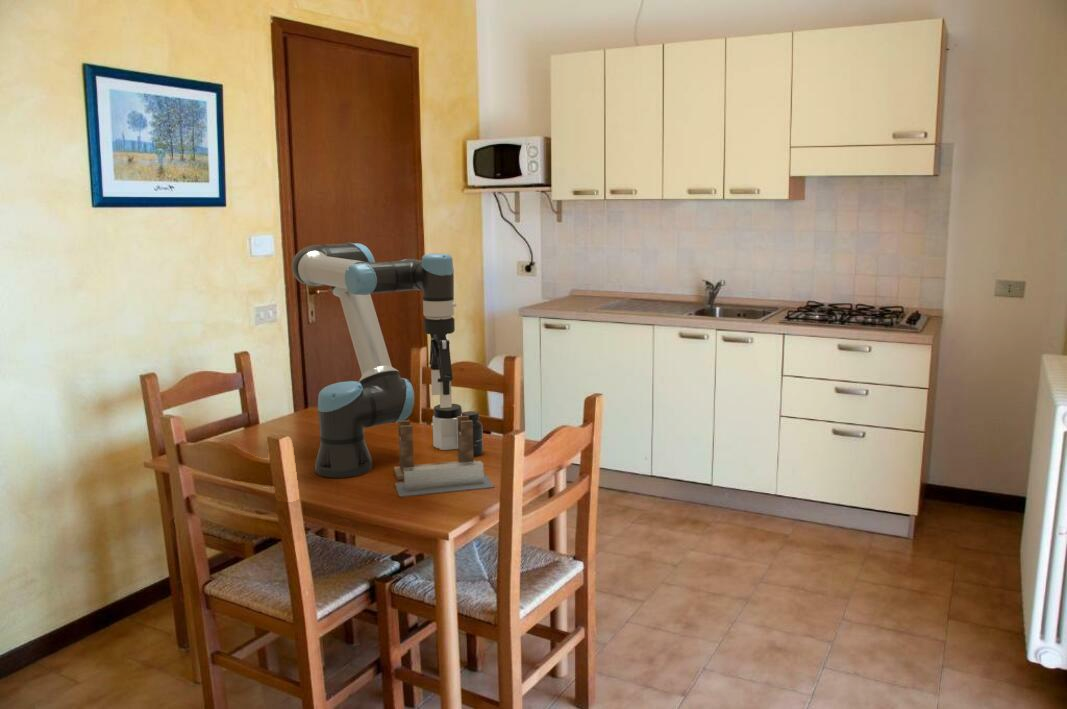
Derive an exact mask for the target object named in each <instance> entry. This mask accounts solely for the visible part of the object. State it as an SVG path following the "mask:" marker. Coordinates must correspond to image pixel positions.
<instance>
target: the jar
mask: <svg viewBox="0 0 1067 709" xmlns="http://www.w3.org/2000/svg"><path fill="white" fill-rule="evenodd" d="M462 411H463V410H462V406H461V404H457V403H452V407H447V408H440V404H437V405H434V406H433V416H432V436H433V437H432V439H433V440H432V441H433V442H432V443H433V444H432V445H433V448H436V449H438V448H439V449H438V450H441V451H448V450H449V451H451V450H458V425H457V416H462V413H463V412H462Z"/></svg>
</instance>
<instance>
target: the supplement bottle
mask: <svg viewBox="0 0 1067 709" xmlns="http://www.w3.org/2000/svg"><path fill="white" fill-rule="evenodd" d="M462 416H469V420H472V421H473V457H476V456H477V455H478V456H480V454H481V453H482V454H483V452H484V446H483V445H484V440H483V437H484V435H483V434H484V432H483V431H484V430H483V424H482V422H481V421H479V420H480V412H478V411H475V410H474V411H472V410H470V411H464V412H462ZM482 454H481V455H482Z"/></svg>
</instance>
